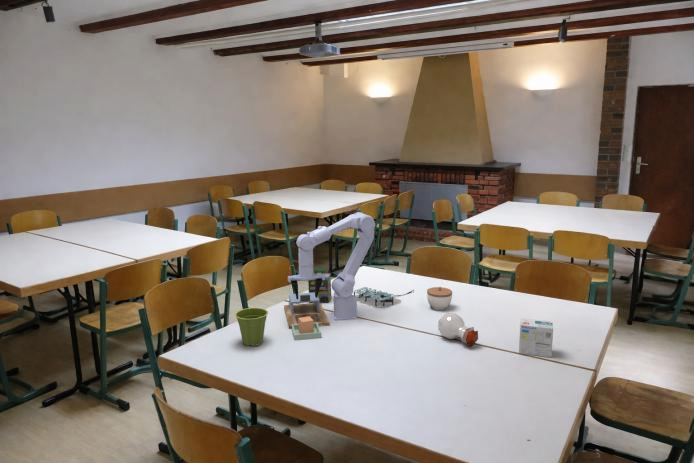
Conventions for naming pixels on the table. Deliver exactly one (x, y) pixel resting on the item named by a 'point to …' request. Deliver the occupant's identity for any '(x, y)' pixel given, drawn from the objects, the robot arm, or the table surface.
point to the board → (306, 314)
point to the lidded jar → (439, 297)
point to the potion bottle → (457, 329)
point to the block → (306, 325)
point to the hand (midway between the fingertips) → (306, 297)
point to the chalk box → (322, 287)
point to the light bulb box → (536, 337)
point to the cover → (303, 300)
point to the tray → (307, 335)
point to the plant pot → (252, 325)
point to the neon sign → (376, 298)
